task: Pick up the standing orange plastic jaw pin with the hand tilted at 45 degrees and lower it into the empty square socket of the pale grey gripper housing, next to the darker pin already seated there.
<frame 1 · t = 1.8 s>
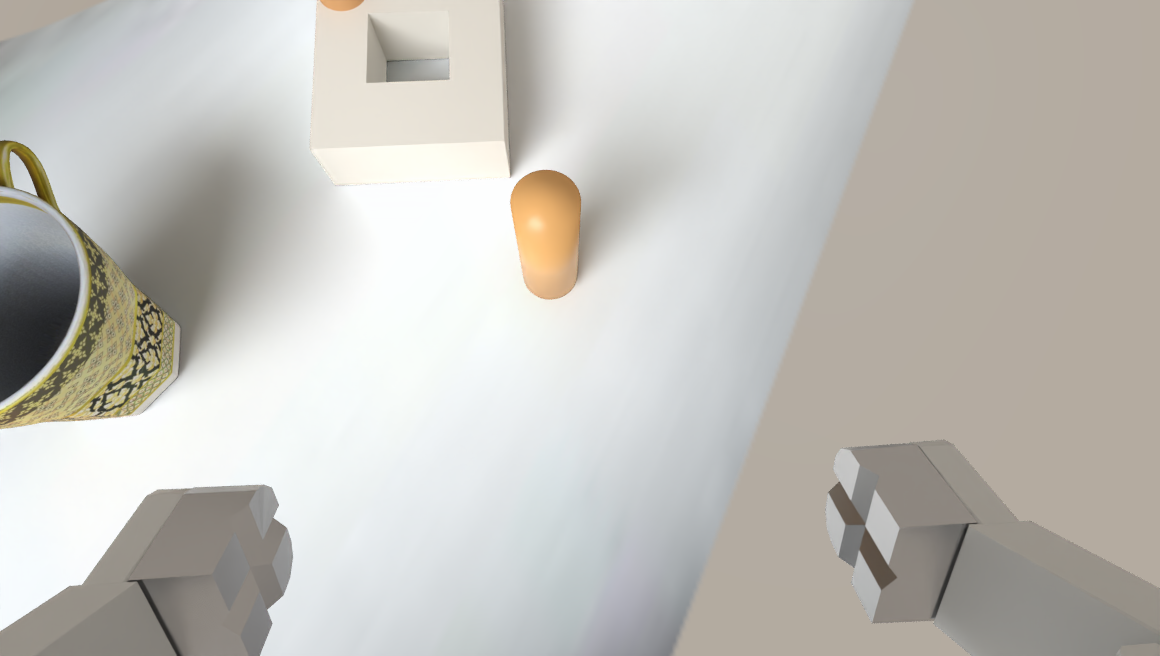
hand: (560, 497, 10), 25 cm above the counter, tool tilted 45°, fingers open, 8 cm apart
ceramic cup: (125, 331, 36), on the counter
housing: (423, 90, 40), on the counter
jaw pin: (550, 273, 37), on the counter
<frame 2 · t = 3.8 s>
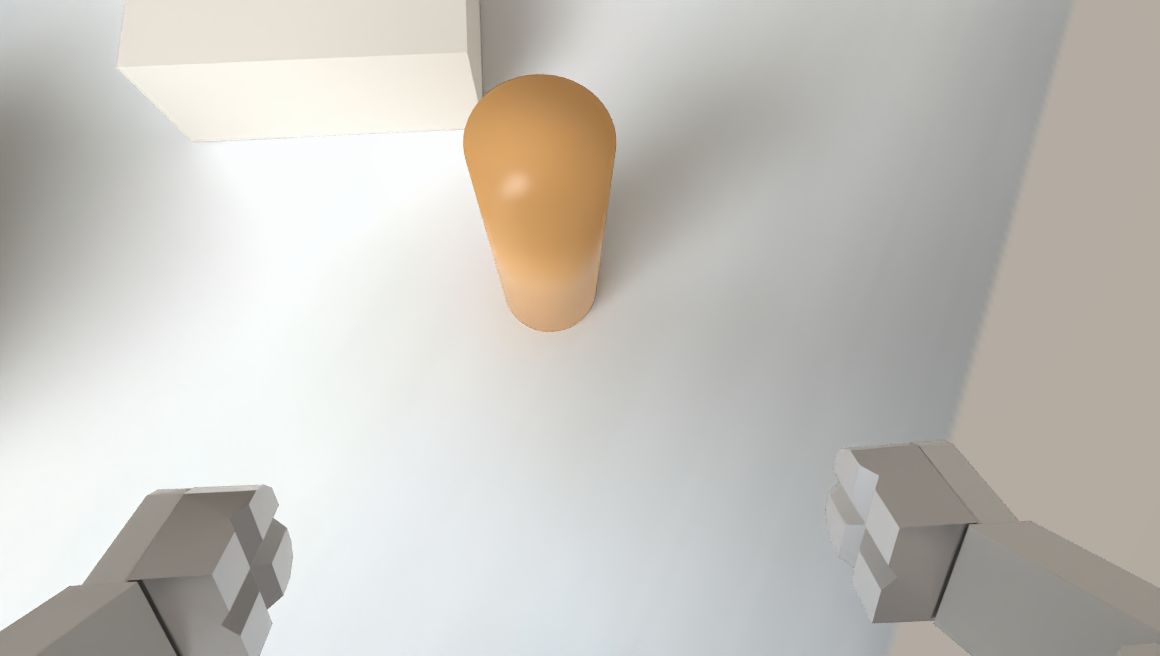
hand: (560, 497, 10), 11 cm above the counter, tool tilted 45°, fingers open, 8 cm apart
jaw pin: (550, 287, 22), on the counter
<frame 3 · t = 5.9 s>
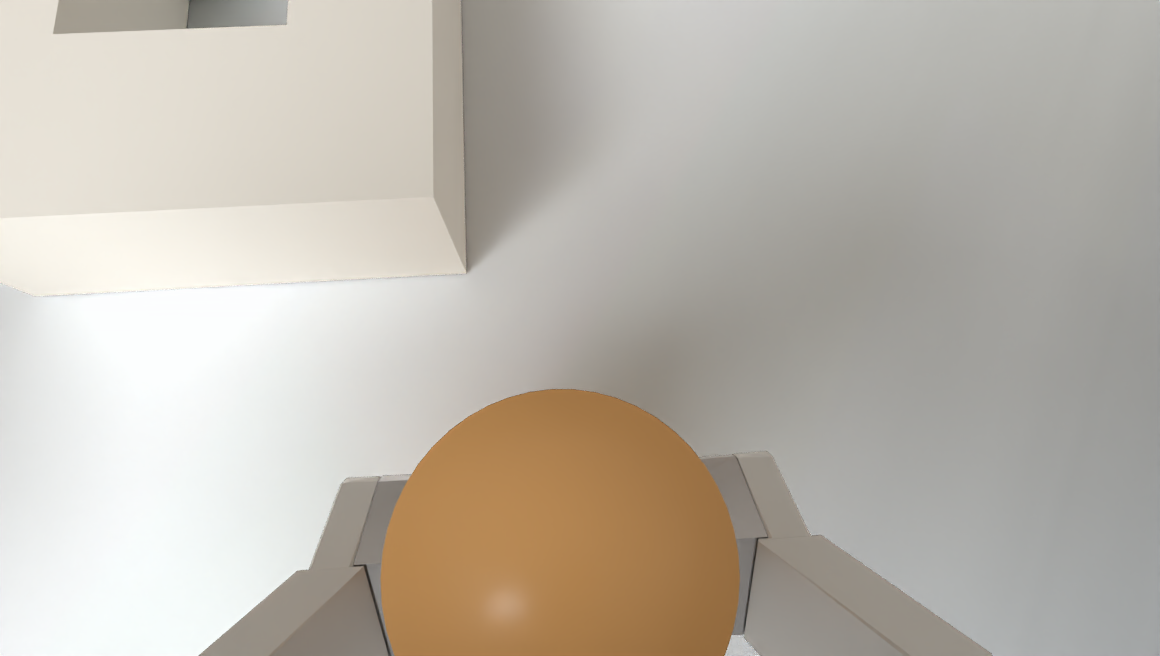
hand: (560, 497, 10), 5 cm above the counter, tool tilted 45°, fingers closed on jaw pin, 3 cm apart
housing: (268, 65, 17), on the counter
jaw pin: (565, 531, 14), on the counter, touching gripper
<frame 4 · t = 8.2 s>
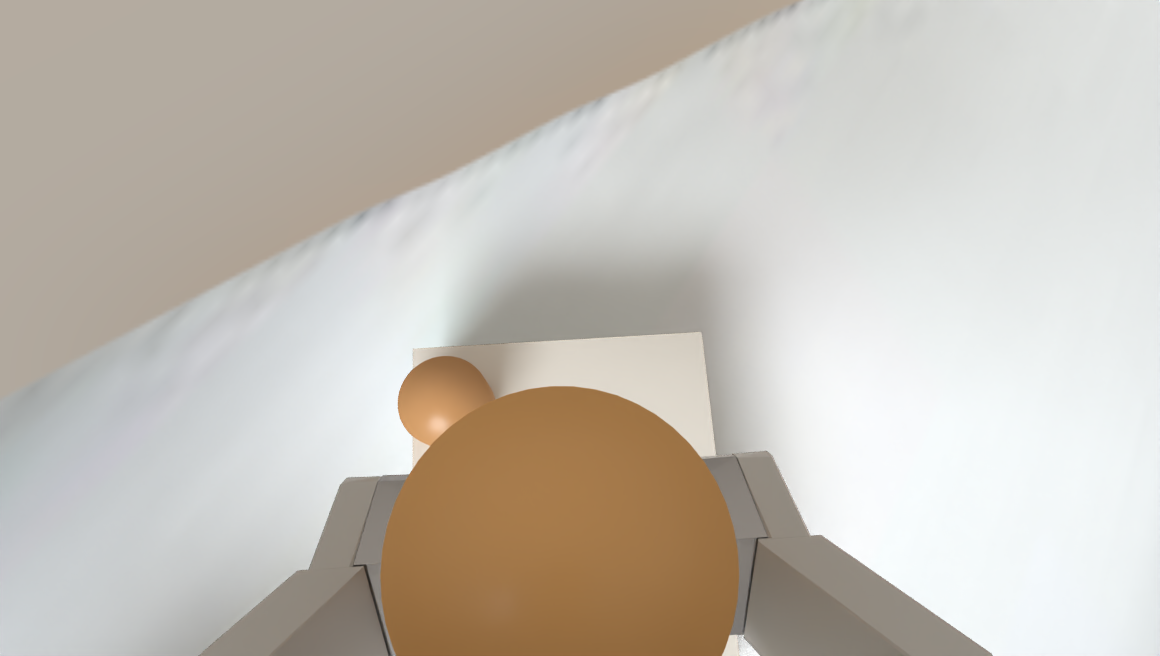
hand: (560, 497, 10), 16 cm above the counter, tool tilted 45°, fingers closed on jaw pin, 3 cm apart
housing: (568, 518, 25), on the counter
jaw pin: (564, 529, 14), point 11 cm above the counter, touching gripper
when the fingers open (7 cm above the counter, at t = 10.6 s): jaw pin drops 2 cm, resting in housing.
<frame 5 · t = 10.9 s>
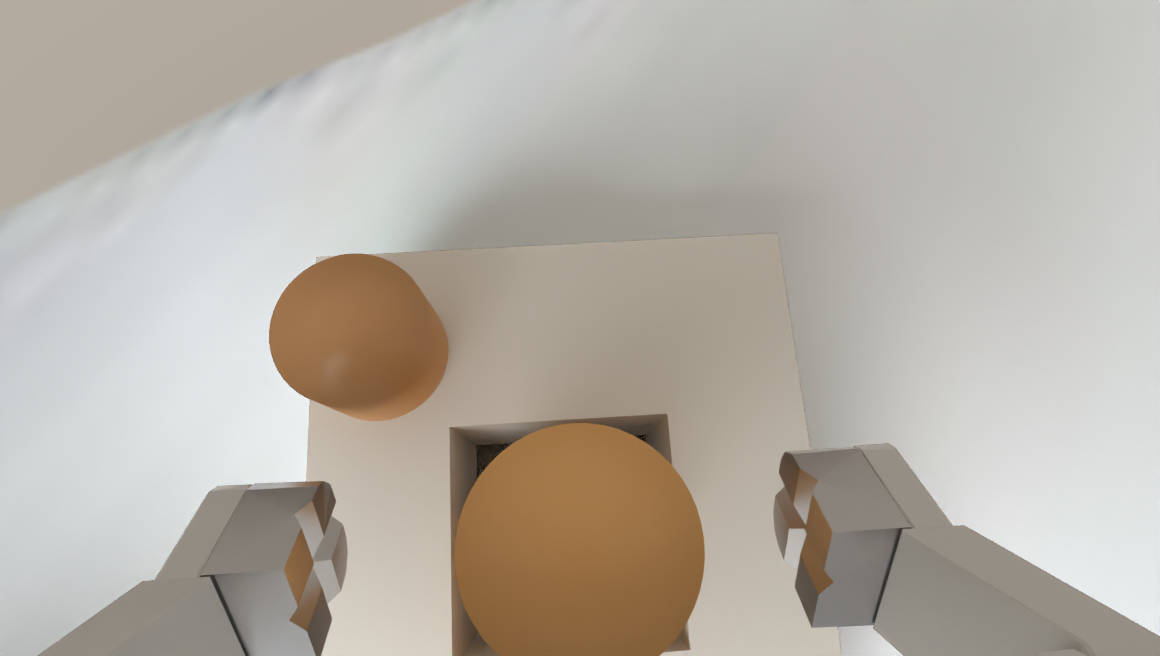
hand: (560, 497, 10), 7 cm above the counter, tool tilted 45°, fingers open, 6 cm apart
housing: (565, 528, 17), on the counter
jaw pin: (568, 526, 17), resting in housing
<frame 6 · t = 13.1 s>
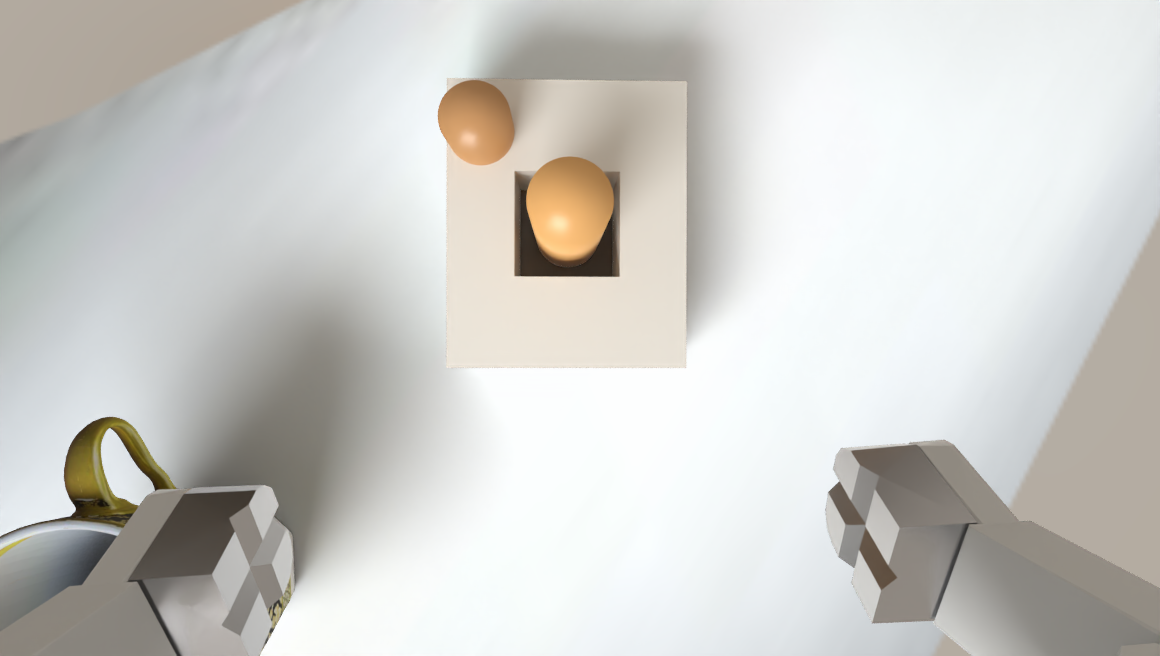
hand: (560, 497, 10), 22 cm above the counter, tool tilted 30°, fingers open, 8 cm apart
ceramic cup: (228, 530, 31), on the counter
housing: (566, 236, 32), on the counter
jaw pin: (567, 236, 32), resting in housing
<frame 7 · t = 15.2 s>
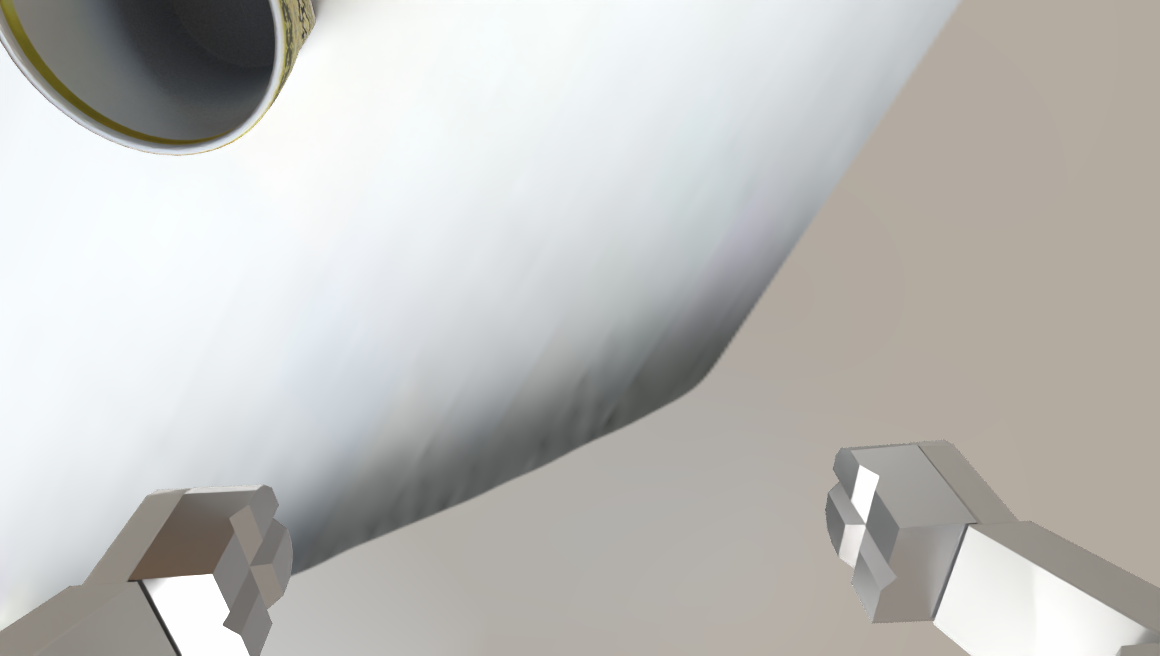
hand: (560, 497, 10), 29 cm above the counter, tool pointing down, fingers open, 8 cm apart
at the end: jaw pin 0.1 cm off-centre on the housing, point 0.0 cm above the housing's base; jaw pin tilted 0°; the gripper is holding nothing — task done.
